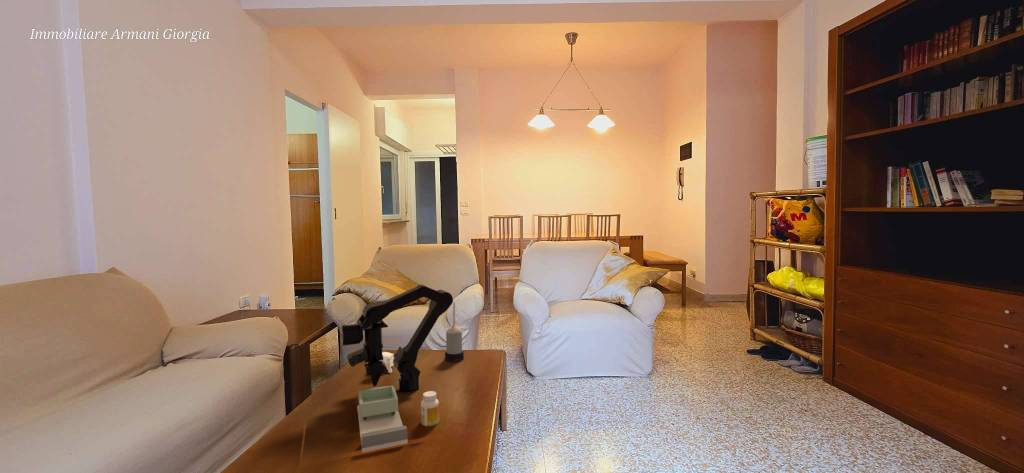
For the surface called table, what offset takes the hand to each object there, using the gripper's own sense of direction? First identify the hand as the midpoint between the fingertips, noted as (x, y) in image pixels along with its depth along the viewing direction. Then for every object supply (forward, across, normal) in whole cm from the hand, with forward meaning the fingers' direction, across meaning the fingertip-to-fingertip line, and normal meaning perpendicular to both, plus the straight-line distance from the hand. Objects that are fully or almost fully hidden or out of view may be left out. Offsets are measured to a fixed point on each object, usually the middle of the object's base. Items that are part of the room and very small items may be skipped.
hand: (374, 385), depth 150 cm
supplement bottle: (+5, +26, +14) cm, 29 cm away
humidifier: (+5, -28, +35) cm, 46 cm away
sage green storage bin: (+4, +13, 0) cm, 13 cm away
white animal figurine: (+5, -26, +5) cm, 27 cm away
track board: (+5, +20, 0) cm, 20 cm away
